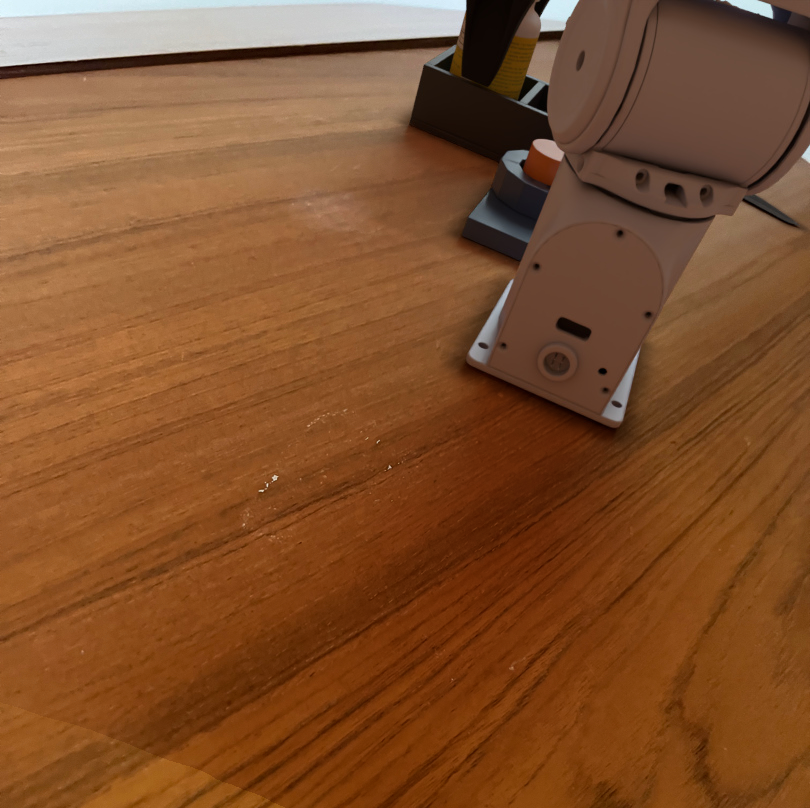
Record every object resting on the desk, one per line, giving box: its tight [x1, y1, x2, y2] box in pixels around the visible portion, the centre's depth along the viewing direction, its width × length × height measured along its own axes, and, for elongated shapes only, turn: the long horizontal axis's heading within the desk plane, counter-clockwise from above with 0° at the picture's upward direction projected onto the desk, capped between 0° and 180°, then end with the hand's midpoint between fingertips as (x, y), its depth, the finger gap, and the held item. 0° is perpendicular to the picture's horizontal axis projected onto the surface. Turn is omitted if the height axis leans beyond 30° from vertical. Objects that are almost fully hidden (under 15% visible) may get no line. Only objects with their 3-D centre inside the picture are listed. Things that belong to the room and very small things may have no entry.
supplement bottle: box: [449, 0, 542, 100], centre depth 53 cm, size 5×5×10 cm
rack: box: [408, 44, 554, 163], centre depth 56 cm, size 8×15×4 cm, turn 70°
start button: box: [523, 139, 564, 186], centre depth 47 cm, size 3×3×2 cm
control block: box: [461, 150, 551, 262], centre depth 47 cm, size 10×8×3 cm
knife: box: [743, 194, 801, 227], centre depth 64 cm, size 16×1×3 cm
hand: (489, 69), depth 54 cm, fingers open, 7 cm apart
